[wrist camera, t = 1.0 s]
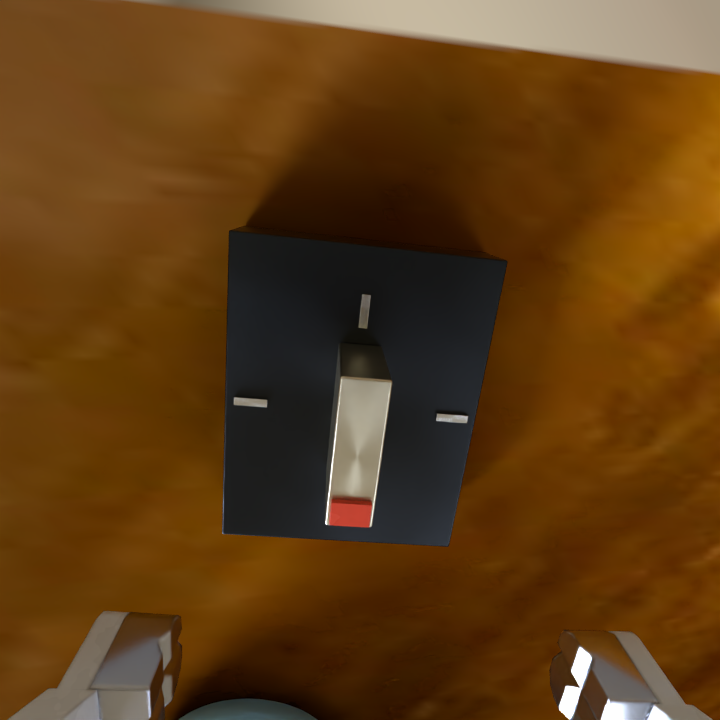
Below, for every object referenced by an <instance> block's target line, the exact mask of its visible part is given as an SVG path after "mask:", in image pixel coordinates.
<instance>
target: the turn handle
mask: <svg viewBox="0 0 720 720" xmlns="http://www.w3.org/2000/svg"><path fill="white" fill-rule="evenodd" d="M392 383H393V382H392V379H391V376H390V372H389V369H388V366H387V363H386V360H385V356H384V353H383V350H382V347H380V346H371V345H360V344H349V343H340V344H339V348H338V358H337V368H336V378H335V388H334V398H333V408H332V418H331V428H330V438H329V448H328V458H327V467H326V501H325V524H327V525H334V526H351V527H368V528H369V527H371V526H372V524H373V517H374V510H375V502H376V495H377V488H378V481H379V474H380V467H381V460H382V453H383V446H384V439H385V432H386V425H387V418H388V411H389V404H390V397H391V390H392Z"/></svg>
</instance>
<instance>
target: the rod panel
mask: <svg viewBox="0 0 720 720" xmlns="http://www.w3.org/2000/svg"><path fill="white" fill-rule="evenodd" d="M506 266H507V261H506V260H504V259H501V258H499V257H496V256H493V255H490V254H488V253H485V252H477V251H467V250H458V249H449V248H440V247H431V246H422V245H413V244H404V243H395V242H386V241H377V240H368V239H358V238H349V237H340V236H331V235H322V234H313V233H304V232H295V231H286V230H277V229H268V228H258V227H249V226H243V227H239V228H236V229H233V230H230V231H229V254H228V299H227V343H226V388H225V432H224V477H223V521H222V533H223V534H235V535H253V536H270V537H288V538H306V539H323V540H341V541H358V542H376V543H393V544H411V545H429V546H446V547H448V546H449V542H450V538H451V533H452V528H453V523H454V518H455V513H456V509H457V504H458V499H459V494H460V489H461V484H462V479H463V475H464V470H465V465H466V460H467V455H468V450H469V446H470V441H471V436H472V431H473V426H474V421H475V417H476V412H477V407H478V402H479V397H480V392H481V387H482V383H483V378H484V373H485V368H486V363H487V358H488V354H489V349H490V344H491V339H492V334H493V329H494V325H495V320H496V315H497V310H498V305H499V300H500V295H501V291H502V286H503V281H504V276H505V271H506ZM340 343H349V344H360V345H371V346H380V347H382V350H383V353H384V356H385V360H386V363H387V366H388V369H389V372H390V376H391V379H392V382H393V383H392V390H391V397H390V404H389V411H388V418H387V425H386V432H385V439H384V446H383V453H382V460H381V467H380V474H379V481H378V488H377V495H376V502H375V510H374V517H373V524H372V526H371V527H369V528H368V527H351V526H334V525H327V524H325V501H326V467H327V458H328V448H329V438H330V428H331V418H332V408H333V398H334V388H335V378H336V368H337V358H338V348H339V344H340Z"/></svg>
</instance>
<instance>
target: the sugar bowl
mask: <svg viewBox="0 0 720 720" xmlns="http://www.w3.org/2000/svg"><path fill="white" fill-rule="evenodd" d="M178 720H317V719H316V718H314V717H313V716H311V715H310V714H308V713H306V712H304V711H302V710H300V709H298V708H296V707H293V706H290V705H287V704H284V703H280V702H276V701H270V700H263V699H232V700H225V701H220V702H216V703H211V704H208V705H206V706H203V707H200V708H198V709H196V710H193V711H191V712H189V713H188V714H186V715H185V716H183V717H181V718H180V719H178Z"/></svg>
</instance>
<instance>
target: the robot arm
mask: <svg viewBox="0 0 720 720" xmlns="http://www.w3.org/2000/svg"><path fill="white" fill-rule="evenodd" d="M181 630H182V624H181V616H179V615H166V614H151V613H136V612H114V611H104V612H103V613H102V614H101V615H100V616H99V617H98V618H97V619H96V621H95V622H94V624H93V626H92V628H91V629H90V631H89V633H88V635H87V637H86V638H85V640H84V642H83V644H82V645H81V647H80V649H79V651H78V652H77V654H76V656H75V658H74V659H73V661H72V663H71V665H70V666H69V668H68V670H67V672H66V673H65V675H64V677H63V679H62V680H61V682H60V684H59V686H58V687H57V688H49V689H47V690H46V691H45V692H43V693H42V694H41V695H39V696H38V697H37V698H35V699H34V700H33V701H31V702H30V703H29V704H27V705H26V706H25V707H23V708H22V709H21V710H19V711H18V712H17V713H15V714H14V715H13V716H12V717H10V718H9V719H8V720H165V709H164V707H165V706H166V705H167V704H168V703H170V702H171V701H172V699H173V696H174V693H175V690H176V686H177V683H178V678H179V673H180V669H181V660H182V645H181V644H180V643H179V642H178V639H179V636H180V633H181ZM558 645H559V647H560V649H561V652H560V653H558V654H557V655H556V656H555V657H554V658H553V659H552V663H551V666H550V670H549V671H550V685H551V689H552V693H553V697H554V699H555V701H556V704H557V706H558V708H559V710H560V711H561V712H562V713H563V714H565V715H566V716H567V717H568V718H569V719H570V720H712V719H711V718H710V717H708V716H707V715H706V714H704V713H703V712H702V711H700V710H699V709H698V708H696V707H695V706H694V705H686V704H685V703H684V701H683V700H682V698H681V697H680V695H679V694H678V693H677V691H676V690H675V688H674V687H673V686H672V684H671V683H670V681H669V680H668V678H667V677H666V676H665V674H664V673H663V671H662V670H661V669H660V667H659V666H658V664H657V663H656V661H655V660H654V659H653V657H652V656H651V654H650V653H649V652H648V650H647V649H646V647H645V646H644V644H643V643H642V642H641V640H640V639H639V637H638V636H637V635H635V634H634V633H633V632H623V631H597V630H564V631H563V632H562V633H561V634H560V636H559V639H558Z"/></svg>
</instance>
